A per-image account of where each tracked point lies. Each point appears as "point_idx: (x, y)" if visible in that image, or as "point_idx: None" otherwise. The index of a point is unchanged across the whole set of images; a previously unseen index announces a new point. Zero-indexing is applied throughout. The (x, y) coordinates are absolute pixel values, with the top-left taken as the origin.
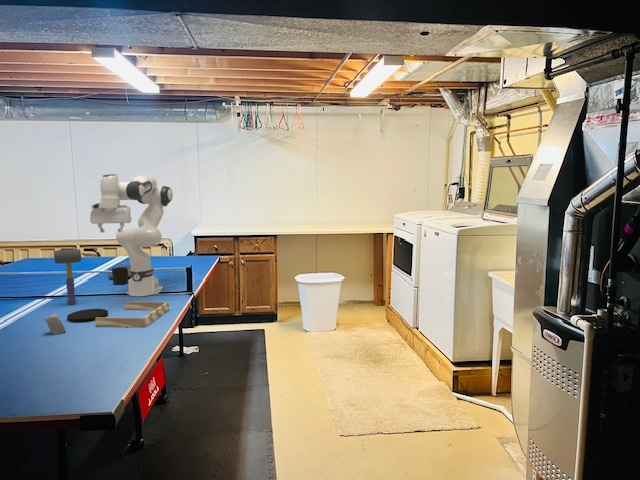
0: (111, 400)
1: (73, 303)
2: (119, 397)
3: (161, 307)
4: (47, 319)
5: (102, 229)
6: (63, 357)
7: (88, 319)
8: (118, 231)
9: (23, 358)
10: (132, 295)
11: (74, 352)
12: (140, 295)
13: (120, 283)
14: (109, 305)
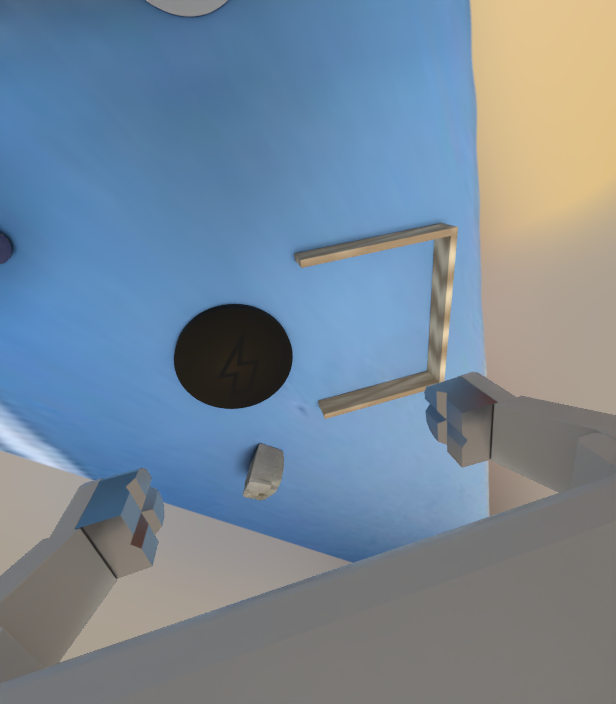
0: None
1: (11, 249)
2: None
3: (451, 288)
4: (262, 499)
5: (150, 559)
6: (368, 509)
7: (274, 391)
8: (438, 430)
9: (312, 531)
10: (162, 8)
11: (372, 494)
12: (214, 7)
13: None
14: (190, 220)
